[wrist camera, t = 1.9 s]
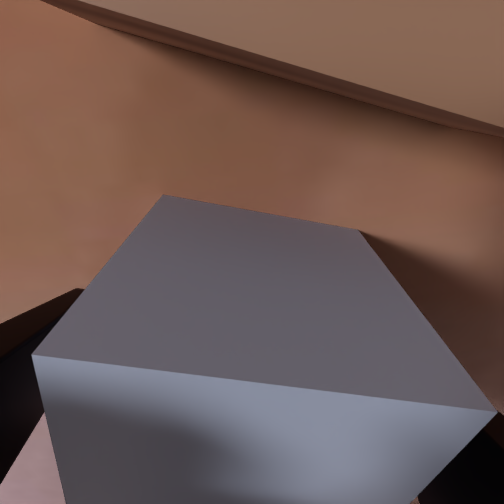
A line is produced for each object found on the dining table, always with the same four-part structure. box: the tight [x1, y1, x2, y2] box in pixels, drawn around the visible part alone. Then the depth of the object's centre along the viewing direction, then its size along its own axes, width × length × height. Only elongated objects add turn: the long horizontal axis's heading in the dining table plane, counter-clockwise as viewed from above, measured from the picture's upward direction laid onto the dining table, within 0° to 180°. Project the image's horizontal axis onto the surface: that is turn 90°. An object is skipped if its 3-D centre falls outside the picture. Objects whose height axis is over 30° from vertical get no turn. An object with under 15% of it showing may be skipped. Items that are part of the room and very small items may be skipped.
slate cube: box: [31, 195, 498, 504], centre depth 8 cm, size 6×6×6 cm
